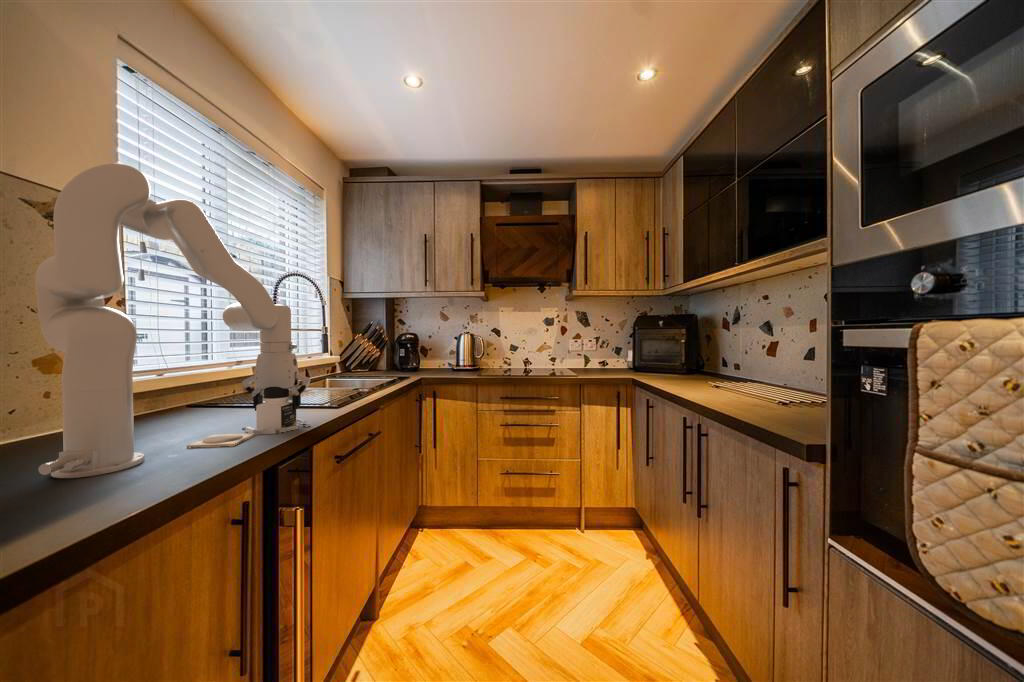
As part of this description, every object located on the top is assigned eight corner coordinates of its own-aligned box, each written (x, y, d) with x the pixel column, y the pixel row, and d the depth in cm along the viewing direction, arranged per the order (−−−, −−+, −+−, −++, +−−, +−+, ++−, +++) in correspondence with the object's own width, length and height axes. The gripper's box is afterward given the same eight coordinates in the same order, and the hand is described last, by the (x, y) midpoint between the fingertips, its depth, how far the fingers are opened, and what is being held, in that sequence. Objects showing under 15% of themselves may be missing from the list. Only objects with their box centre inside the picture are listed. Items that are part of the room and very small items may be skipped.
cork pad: (234, 446, 91) (234, 443, 91) (186, 448, 90) (186, 445, 90) (255, 435, 101) (255, 432, 101) (212, 437, 100) (212, 434, 100)
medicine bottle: (281, 431, 106) (281, 387, 106) (255, 431, 106) (255, 387, 106) (296, 425, 113) (296, 383, 113) (272, 425, 113) (272, 383, 113)
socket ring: (300, 432, 104) (300, 428, 104) (229, 435, 101) (229, 430, 101) (317, 421, 118) (317, 417, 118) (255, 423, 115) (255, 419, 115)
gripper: (313, 347, 114) (314, 405, 115) (249, 348, 112) (250, 408, 112) (304, 348, 107) (305, 410, 107) (235, 349, 104) (236, 413, 104)
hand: (277, 409), depth 110 cm, fingers open, 9 cm apart
